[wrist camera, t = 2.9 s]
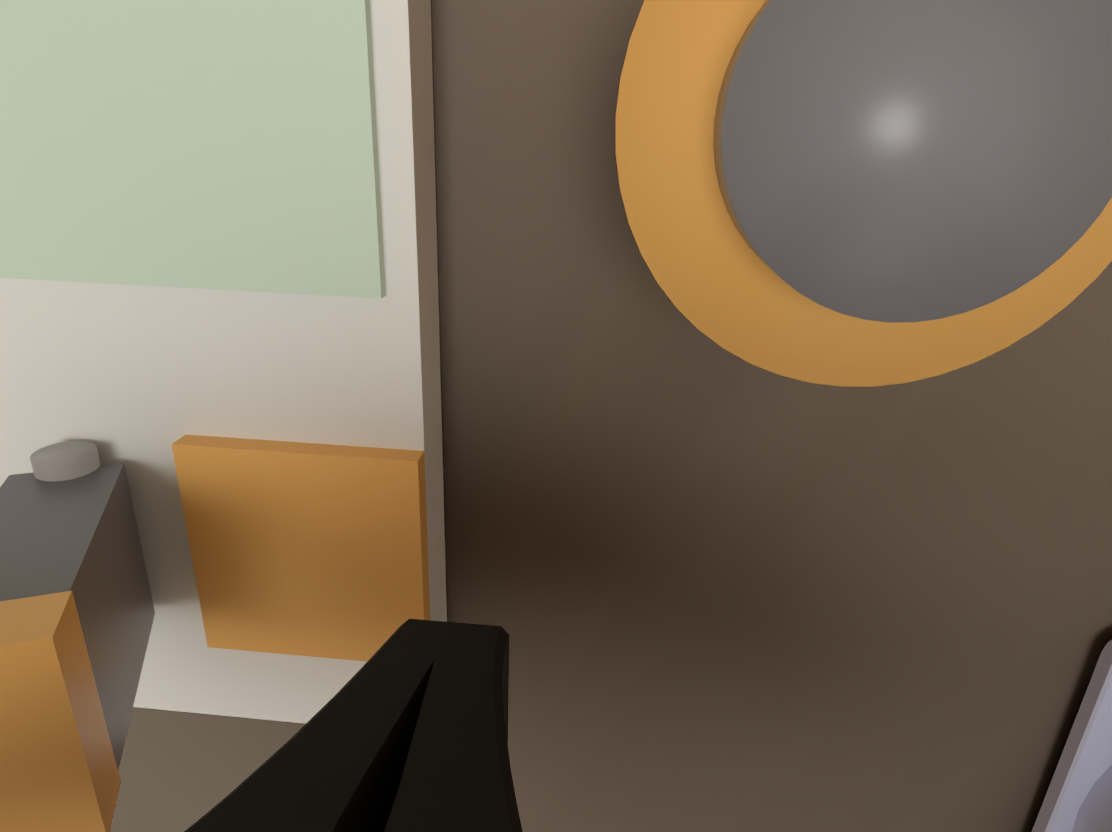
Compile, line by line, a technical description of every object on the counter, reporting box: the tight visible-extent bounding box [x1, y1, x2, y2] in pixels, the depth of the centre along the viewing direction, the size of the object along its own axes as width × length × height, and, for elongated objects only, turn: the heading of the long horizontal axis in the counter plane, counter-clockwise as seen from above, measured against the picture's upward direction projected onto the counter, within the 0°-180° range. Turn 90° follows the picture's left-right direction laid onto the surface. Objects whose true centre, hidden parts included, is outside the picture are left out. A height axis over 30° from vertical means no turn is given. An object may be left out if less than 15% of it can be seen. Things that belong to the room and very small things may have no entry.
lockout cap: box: [616, 0, 1112, 387], centre depth 8 cm, size 4×4×6 cm
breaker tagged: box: [0, 441, 155, 832], centre depth 10 cm, size 4×2×5 cm, turn 178°
